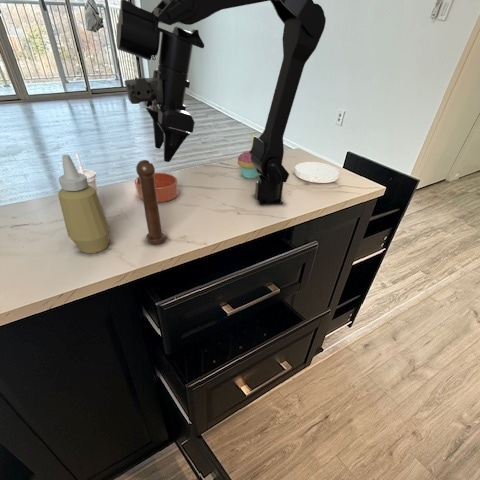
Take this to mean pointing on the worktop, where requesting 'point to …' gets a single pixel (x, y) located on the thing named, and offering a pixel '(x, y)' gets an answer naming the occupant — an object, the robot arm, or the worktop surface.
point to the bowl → (161, 187)
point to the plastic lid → (316, 172)
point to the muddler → (150, 202)
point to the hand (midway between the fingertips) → (161, 154)
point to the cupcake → (247, 164)
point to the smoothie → (87, 174)
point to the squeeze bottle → (82, 210)
